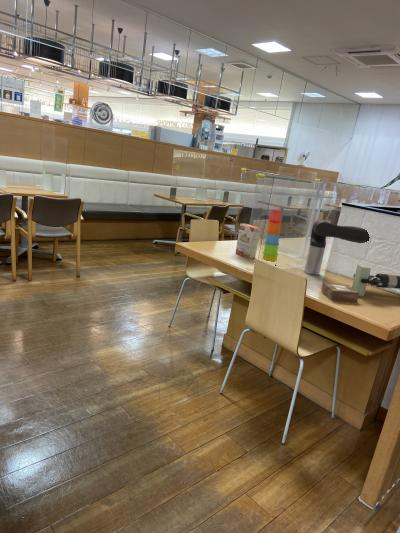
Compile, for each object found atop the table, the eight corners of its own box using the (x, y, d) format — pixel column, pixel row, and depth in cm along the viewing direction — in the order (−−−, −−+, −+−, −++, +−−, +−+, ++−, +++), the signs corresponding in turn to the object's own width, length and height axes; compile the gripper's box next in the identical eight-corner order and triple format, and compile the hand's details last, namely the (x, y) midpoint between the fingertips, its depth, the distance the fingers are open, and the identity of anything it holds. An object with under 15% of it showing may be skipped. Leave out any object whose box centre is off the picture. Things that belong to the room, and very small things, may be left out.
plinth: (321, 291, 206) (323, 282, 204) (345, 293, 208) (348, 284, 206) (330, 300, 194) (333, 290, 193) (356, 302, 196) (359, 292, 195)
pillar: (350, 292, 212) (357, 264, 207) (359, 293, 212) (366, 265, 208) (354, 295, 207) (362, 267, 202) (363, 296, 208) (371, 268, 203)
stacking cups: (273, 267, 241) (283, 212, 231) (258, 263, 245) (267, 209, 236) (279, 265, 249) (289, 211, 240) (264, 261, 254) (273, 209, 245)
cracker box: (234, 253, 265) (239, 223, 260) (241, 252, 269) (246, 223, 263) (248, 258, 255) (254, 227, 249) (255, 258, 259) (260, 227, 253)
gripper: (380, 270, 215) (352, 267, 213) (395, 278, 201) (366, 275, 199) (376, 283, 217) (349, 280, 215) (391, 292, 203) (362, 289, 201)
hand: (357, 278), depth 207 cm, fingers open, 7 cm apart
